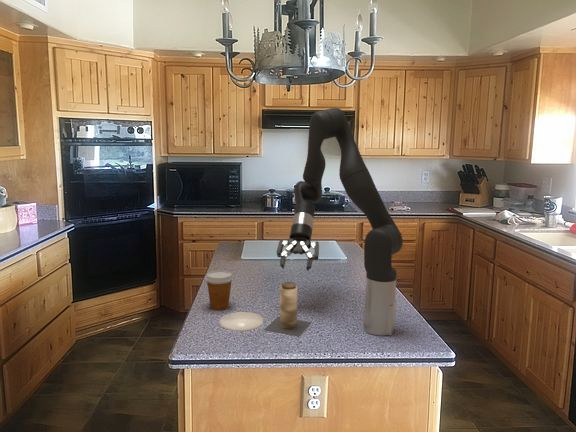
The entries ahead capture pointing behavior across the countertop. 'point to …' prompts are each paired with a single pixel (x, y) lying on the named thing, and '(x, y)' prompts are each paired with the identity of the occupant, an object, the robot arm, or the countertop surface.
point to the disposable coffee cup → (219, 289)
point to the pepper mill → (288, 305)
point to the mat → (296, 331)
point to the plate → (241, 321)
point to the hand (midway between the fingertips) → (295, 268)
